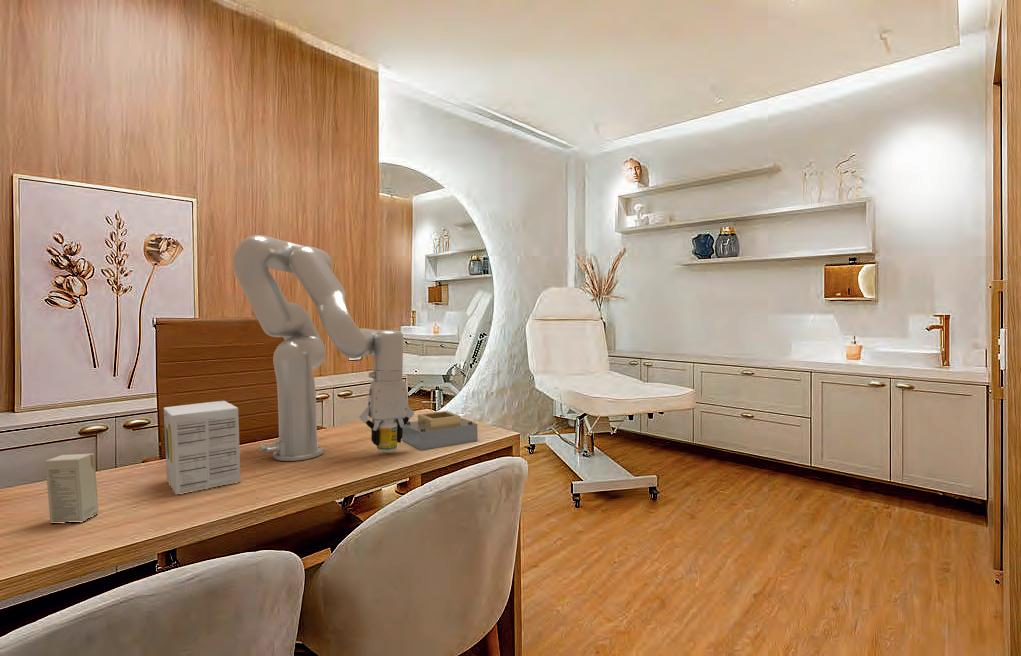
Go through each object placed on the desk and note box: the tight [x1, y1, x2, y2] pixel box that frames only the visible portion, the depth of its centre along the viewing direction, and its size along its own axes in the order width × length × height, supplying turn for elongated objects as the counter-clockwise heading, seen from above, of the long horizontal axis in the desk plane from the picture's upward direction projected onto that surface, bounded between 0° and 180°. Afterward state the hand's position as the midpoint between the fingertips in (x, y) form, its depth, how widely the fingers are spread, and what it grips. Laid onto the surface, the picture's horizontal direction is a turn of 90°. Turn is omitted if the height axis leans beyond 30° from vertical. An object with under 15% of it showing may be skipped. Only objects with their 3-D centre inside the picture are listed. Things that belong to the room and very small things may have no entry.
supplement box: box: [163, 400, 241, 495], centre depth 123 cm, size 13×13×18 cm
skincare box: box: [44, 452, 100, 522], centre depth 102 cm, size 6×4×12 cm
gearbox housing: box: [401, 410, 479, 451], centre depth 159 cm, size 18×14×8 cm
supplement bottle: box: [376, 419, 398, 453], centre depth 144 cm, size 5×5×10 cm
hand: (387, 442), depth 145 cm, fingers closed on supplement bottle, 5 cm apart
